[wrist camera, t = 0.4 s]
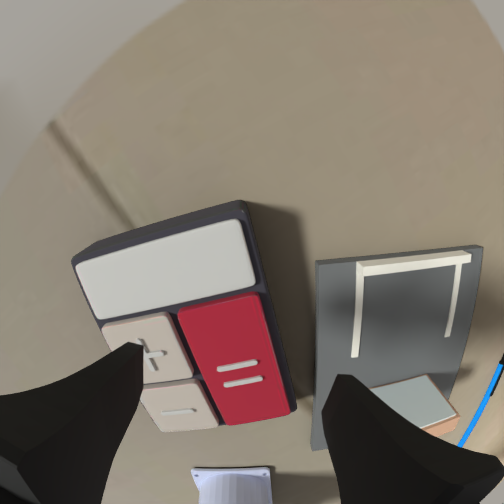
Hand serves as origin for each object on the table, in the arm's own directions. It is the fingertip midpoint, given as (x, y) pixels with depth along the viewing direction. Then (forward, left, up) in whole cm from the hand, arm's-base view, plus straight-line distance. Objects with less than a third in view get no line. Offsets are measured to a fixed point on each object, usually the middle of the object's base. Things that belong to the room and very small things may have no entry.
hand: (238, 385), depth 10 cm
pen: (-20, -27, -10) cm, 35 cm away
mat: (-7, -12, -10) cm, 17 cm away
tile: (-10, -12, -9) cm, 18 cm away
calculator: (-3, +3, -11) cm, 11 cm away
